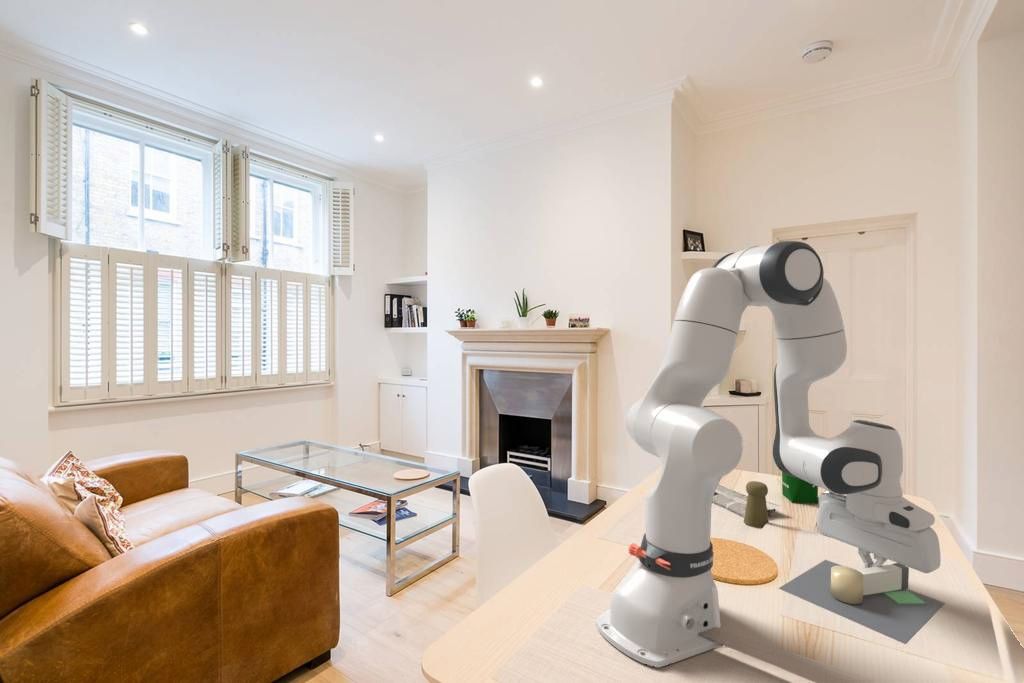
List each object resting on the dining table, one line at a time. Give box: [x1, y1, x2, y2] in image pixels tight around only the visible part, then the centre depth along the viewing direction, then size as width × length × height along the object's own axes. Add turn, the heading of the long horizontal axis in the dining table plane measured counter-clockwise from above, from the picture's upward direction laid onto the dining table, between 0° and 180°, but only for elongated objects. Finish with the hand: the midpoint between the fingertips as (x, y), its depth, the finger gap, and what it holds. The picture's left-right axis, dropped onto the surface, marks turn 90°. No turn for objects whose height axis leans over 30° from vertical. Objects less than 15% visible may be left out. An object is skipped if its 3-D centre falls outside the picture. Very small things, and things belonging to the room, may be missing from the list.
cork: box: [743, 480, 769, 529], centre depth 128 cm, size 6×6×11 cm
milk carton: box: [781, 471, 819, 505], centre depth 146 cm, size 9×9×20 cm
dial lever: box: [831, 562, 910, 604], centre depth 92 cm, size 16×5×5 cm, turn 103°
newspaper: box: [712, 482, 782, 519], centre depth 149 cm, size 35×12×4 cm, turn 20°
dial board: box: [778, 559, 946, 645], centre depth 92 cm, size 20×20×2 cm
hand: (872, 573), depth 95 cm, fingers closed
